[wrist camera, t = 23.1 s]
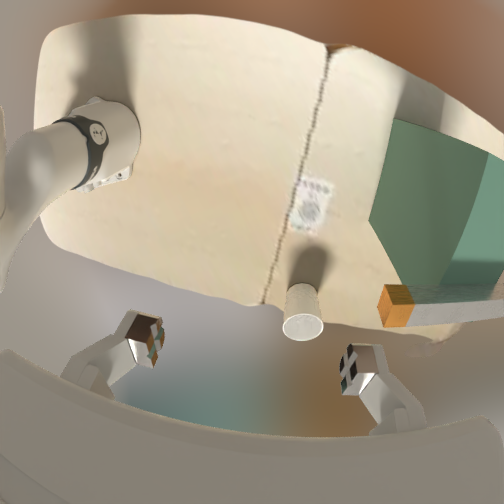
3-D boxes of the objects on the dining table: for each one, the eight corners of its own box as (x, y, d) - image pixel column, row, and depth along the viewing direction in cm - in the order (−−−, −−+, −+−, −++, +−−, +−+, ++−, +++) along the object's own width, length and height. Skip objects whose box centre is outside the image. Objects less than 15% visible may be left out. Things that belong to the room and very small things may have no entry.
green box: (368, 220, 49) (418, 319, 27) (393, 118, 38) (489, 152, 16) (411, 229, 49) (472, 321, 27) (439, 134, 38) (538, 183, 16)
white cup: (316, 277, 57) (320, 310, 49) (321, 304, 61) (325, 337, 52) (279, 284, 59) (278, 317, 51) (287, 310, 63) (287, 343, 54)
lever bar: (377, 306, 26) (383, 327, 24) (384, 284, 25) (392, 304, 22) (508, 300, 24) (517, 314, 22) (517, 282, 23) (527, 296, 20)
